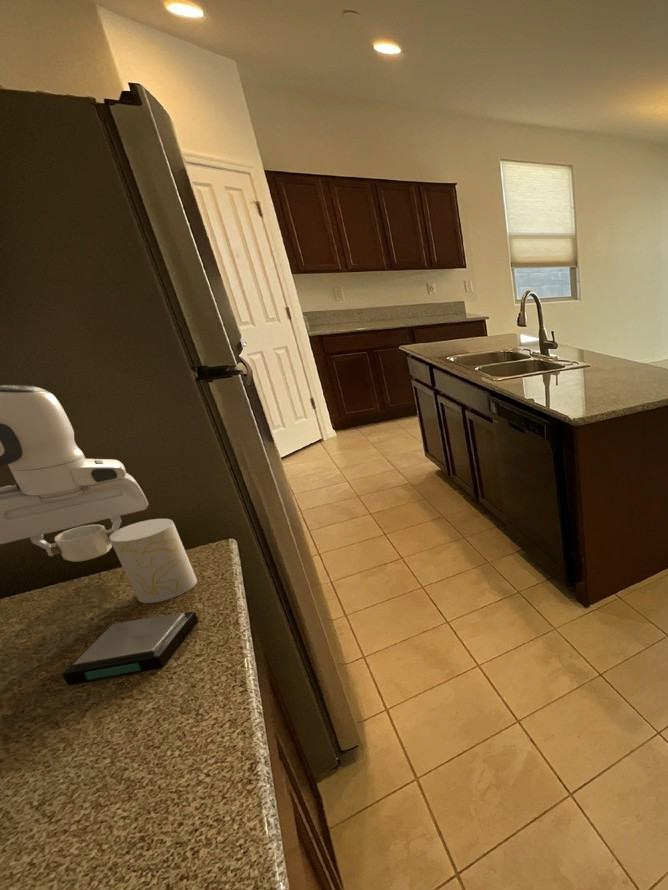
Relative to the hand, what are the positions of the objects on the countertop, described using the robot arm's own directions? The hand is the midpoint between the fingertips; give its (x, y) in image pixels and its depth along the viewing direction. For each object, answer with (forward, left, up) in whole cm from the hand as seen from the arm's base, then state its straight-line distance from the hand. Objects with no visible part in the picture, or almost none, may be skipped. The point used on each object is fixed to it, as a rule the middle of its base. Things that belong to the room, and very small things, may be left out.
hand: (86, 546), depth 96 cm
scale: (+20, -29, -6) cm, 36 cm away
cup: (+16, -11, -6) cm, 20 cm away
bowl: (0, 0, -2) cm, 2 cm away
